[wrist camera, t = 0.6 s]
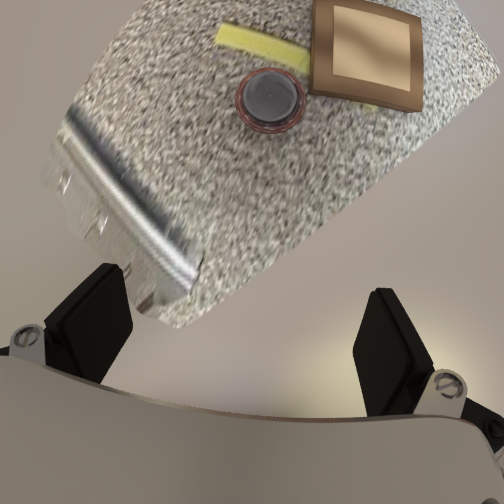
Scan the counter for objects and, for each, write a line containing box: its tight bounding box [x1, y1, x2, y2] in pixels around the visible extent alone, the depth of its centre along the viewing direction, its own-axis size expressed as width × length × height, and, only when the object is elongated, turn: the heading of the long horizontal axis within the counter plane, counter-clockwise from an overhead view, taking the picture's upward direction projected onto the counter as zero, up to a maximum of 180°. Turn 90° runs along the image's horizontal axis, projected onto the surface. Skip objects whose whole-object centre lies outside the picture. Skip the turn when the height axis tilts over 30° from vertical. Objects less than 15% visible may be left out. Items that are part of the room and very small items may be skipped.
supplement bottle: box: [235, 67, 306, 134], centre depth 24 cm, size 6×6×11 cm
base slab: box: [309, 0, 423, 113], centre depth 23 cm, size 12×12×4 cm
